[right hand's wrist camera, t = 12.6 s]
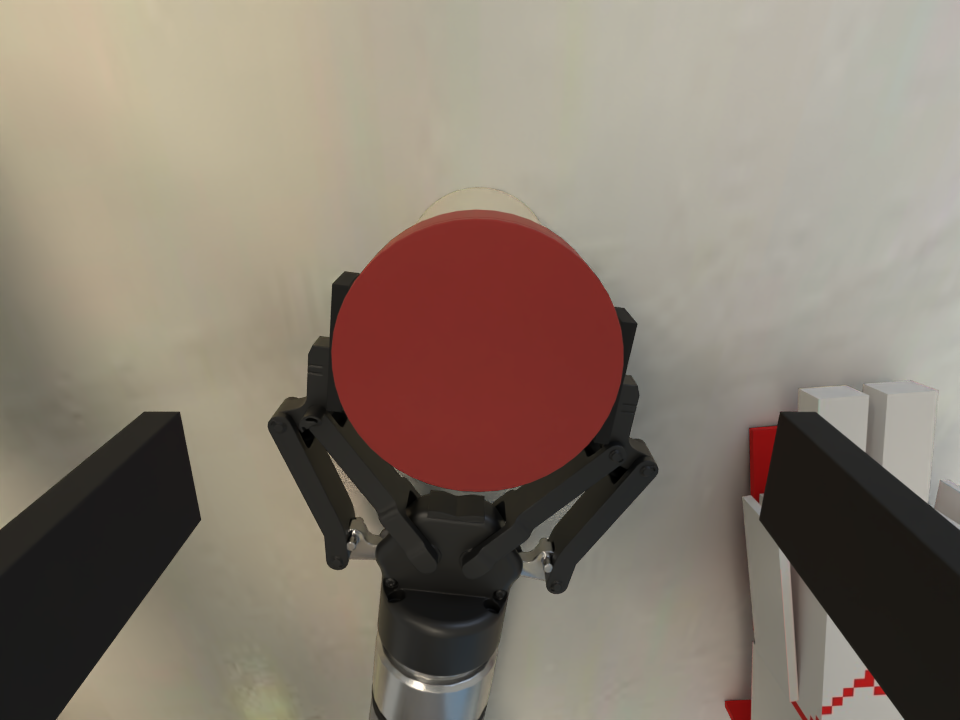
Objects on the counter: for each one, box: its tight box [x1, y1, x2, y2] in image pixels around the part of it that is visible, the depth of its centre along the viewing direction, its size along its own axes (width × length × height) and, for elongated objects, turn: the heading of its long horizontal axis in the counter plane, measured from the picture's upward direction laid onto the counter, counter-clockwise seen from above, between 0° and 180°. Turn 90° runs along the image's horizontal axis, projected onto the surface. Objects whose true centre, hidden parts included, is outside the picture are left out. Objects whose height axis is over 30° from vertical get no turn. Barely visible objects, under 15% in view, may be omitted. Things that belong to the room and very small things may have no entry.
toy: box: [725, 380, 960, 720], centre depth 37 cm, size 12×13×30 cm
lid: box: [332, 209, 623, 492], centre depth 20 cm, size 9×9×2 cm
